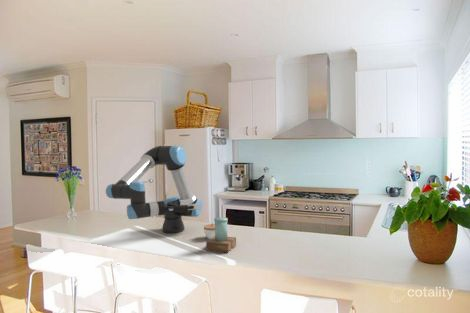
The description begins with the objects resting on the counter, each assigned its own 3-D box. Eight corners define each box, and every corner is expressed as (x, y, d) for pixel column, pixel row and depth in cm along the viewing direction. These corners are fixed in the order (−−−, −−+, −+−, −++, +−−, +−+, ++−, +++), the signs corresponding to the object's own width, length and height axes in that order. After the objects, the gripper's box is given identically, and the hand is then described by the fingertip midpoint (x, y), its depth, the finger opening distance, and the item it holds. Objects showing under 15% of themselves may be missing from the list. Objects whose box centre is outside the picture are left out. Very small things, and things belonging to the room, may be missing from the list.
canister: (217, 237, 203) (217, 216, 202) (229, 238, 200) (229, 217, 199) (212, 241, 195) (212, 219, 195) (224, 242, 193) (224, 220, 192)
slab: (215, 244, 206) (215, 235, 206) (236, 245, 202) (235, 237, 202) (206, 250, 194) (206, 242, 194) (228, 253, 190) (227, 244, 189)
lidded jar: (210, 241, 211) (209, 226, 210) (201, 237, 220) (200, 223, 219) (224, 238, 217) (224, 223, 217) (215, 234, 226) (214, 220, 225)
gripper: (152, 210, 196) (188, 206, 206) (163, 220, 174) (202, 215, 183) (151, 197, 196) (187, 193, 205) (162, 206, 173) (202, 201, 183)
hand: (194, 203), depth 194 cm, fingers open, 13 cm apart
